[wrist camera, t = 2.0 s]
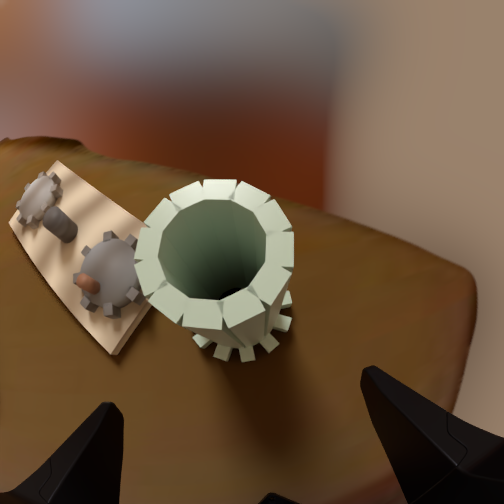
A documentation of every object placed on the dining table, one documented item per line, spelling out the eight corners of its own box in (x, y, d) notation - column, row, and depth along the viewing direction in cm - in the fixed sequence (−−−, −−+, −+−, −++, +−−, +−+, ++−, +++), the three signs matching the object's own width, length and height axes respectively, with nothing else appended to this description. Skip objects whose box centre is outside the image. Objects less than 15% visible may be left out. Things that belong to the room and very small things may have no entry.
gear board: (188, 256, 24) (172, 232, 20) (117, 355, 21) (87, 350, 16) (61, 165, 30) (44, 144, 26) (13, 226, 27) (-7, 210, 22)
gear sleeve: (308, 296, 22) (357, 216, 10) (253, 381, 20) (241, 407, 8) (226, 247, 24) (196, 138, 12) (170, 323, 22) (78, 273, 10)
